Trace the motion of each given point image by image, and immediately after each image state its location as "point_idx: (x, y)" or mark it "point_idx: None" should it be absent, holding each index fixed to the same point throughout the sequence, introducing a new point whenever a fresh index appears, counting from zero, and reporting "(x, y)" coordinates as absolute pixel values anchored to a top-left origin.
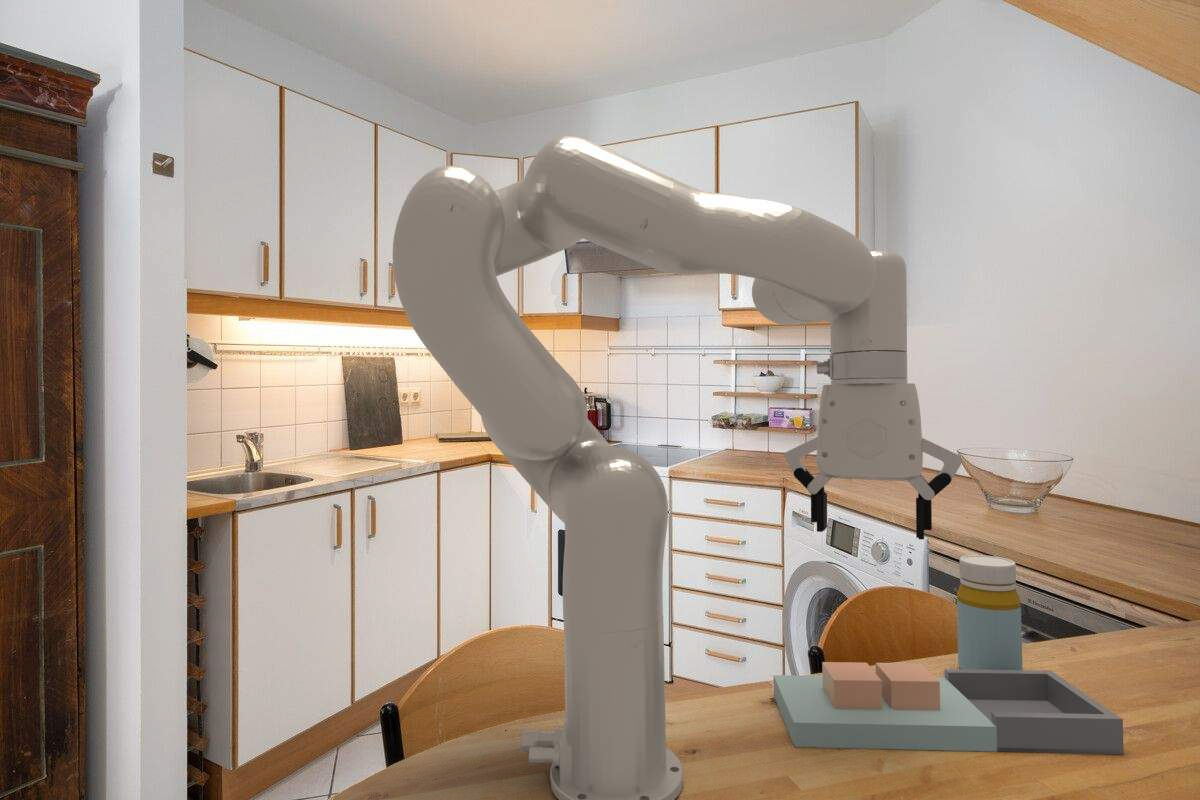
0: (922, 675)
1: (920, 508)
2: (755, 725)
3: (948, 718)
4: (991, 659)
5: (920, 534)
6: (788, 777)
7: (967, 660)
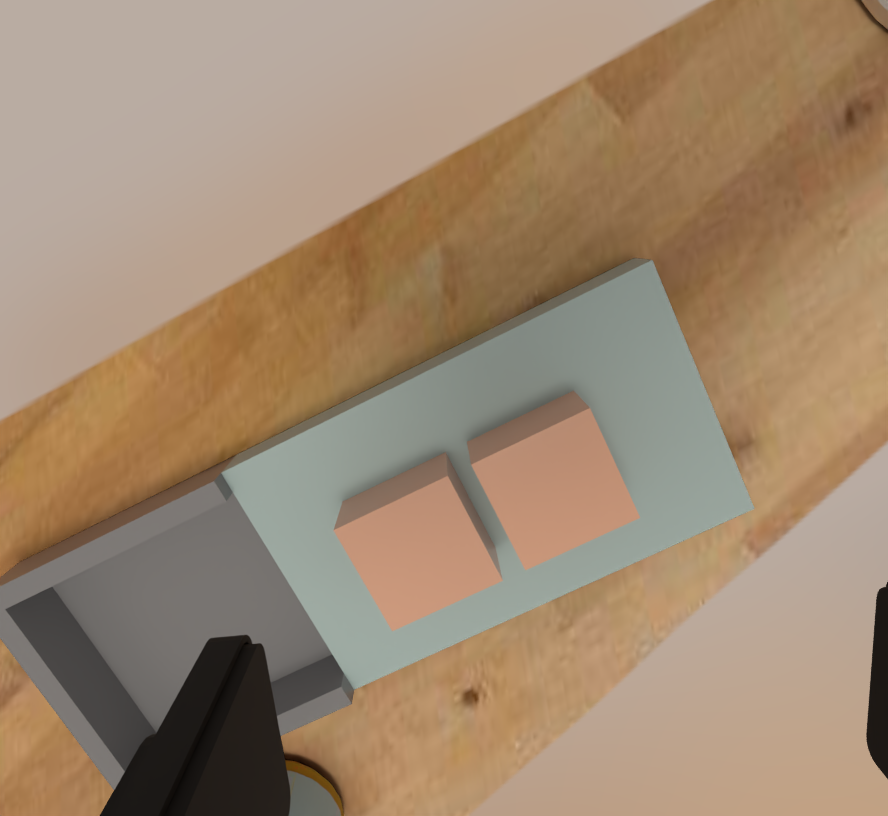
0: (378, 551)
1: (148, 797)
2: (740, 316)
3: (320, 464)
4: None
5: (226, 648)
6: (620, 115)
7: (313, 807)
